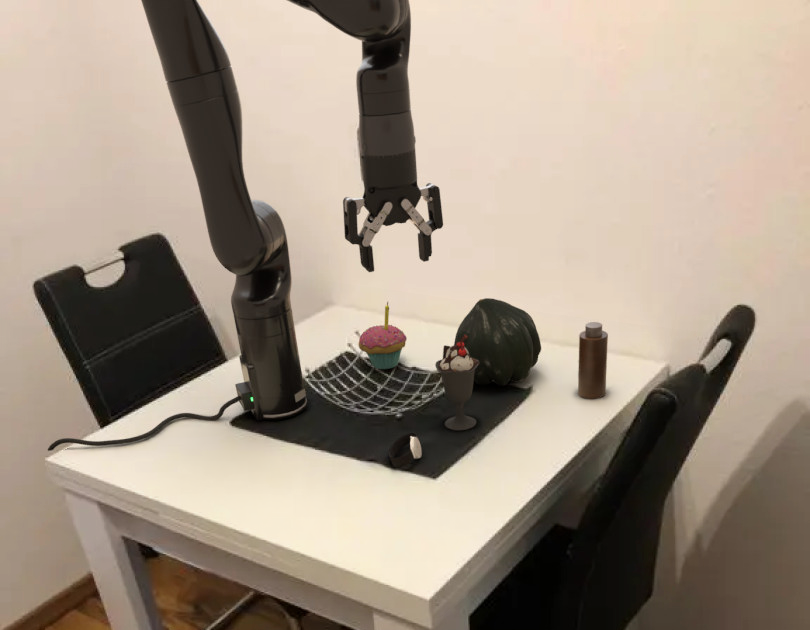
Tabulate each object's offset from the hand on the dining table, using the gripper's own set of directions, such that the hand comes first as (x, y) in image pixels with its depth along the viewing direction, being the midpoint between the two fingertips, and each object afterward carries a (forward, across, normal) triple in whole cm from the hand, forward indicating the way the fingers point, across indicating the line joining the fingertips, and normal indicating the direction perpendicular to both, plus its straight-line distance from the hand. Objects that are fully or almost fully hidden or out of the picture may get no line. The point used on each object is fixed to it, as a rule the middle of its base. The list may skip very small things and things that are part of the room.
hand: (397, 265), depth 133 cm
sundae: (+24, -6, +7) cm, 26 cm away
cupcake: (+25, -4, -22) cm, 33 cm away
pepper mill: (+24, -29, +8) cm, 39 cm away
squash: (+24, -19, -6) cm, 32 cm away
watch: (+25, +6, +13) cm, 28 cm away
